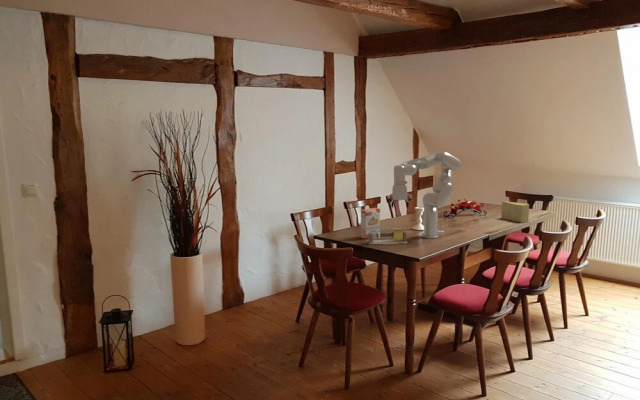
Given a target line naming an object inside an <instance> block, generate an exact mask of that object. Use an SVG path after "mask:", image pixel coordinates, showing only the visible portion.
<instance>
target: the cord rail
mask: <svg viewBox="0 0 640 400" xmlns="http://www.w3.org/2000/svg"><path fill="white" fill-rule="evenodd" d="M392 236H394V233H392V232H388V233H387V232H384V233H381V231H380V232H378V233H377V234H376V232H371V233H368V239H367V243H368V242H369V243H368V244H369V245H370V244H383V245H399V244H398V243H403V244H408V240H407V238H408V237H407V232H406V231H403V240H399V241H394V240H393V239H381V238H385V237H386V238H388V237H392ZM373 239H376V240H373ZM378 239H380V240H378Z"/></svg>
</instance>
